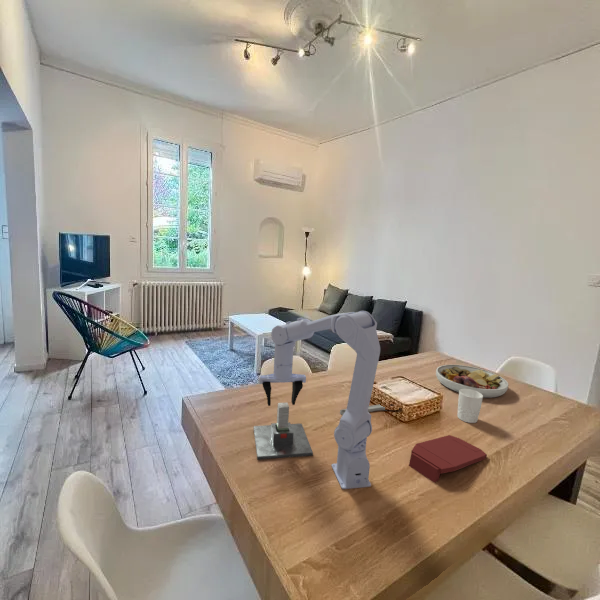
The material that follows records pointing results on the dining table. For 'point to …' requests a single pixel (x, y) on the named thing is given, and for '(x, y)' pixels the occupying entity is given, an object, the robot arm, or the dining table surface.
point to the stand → (281, 442)
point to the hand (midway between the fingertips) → (281, 403)
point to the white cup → (469, 405)
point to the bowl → (471, 380)
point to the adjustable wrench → (370, 409)
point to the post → (282, 417)
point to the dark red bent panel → (443, 456)
